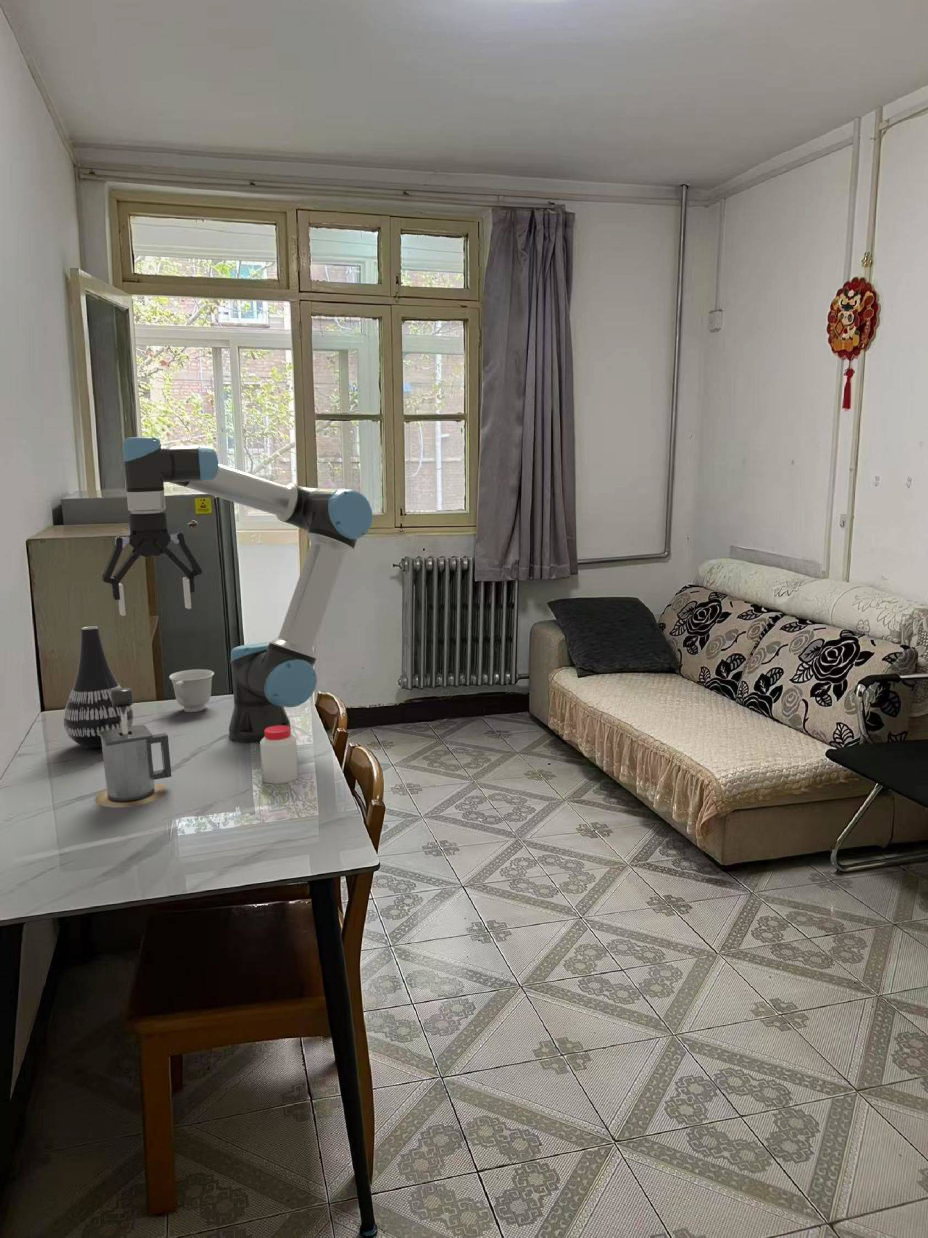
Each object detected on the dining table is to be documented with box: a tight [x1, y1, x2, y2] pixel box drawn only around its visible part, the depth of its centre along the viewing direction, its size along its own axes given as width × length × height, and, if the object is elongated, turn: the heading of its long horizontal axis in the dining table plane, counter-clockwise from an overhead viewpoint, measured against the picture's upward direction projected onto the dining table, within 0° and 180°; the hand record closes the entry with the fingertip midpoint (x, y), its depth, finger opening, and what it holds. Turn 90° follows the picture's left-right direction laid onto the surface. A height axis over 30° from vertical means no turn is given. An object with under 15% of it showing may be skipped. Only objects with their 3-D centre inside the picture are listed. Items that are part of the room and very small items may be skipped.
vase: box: [63, 625, 134, 751], centre depth 224 cm, size 16×16×30 cm
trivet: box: [94, 782, 168, 808], centre depth 191 cm, size 14×14×1 cm
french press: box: [99, 724, 172, 803], centre depth 190 cm, size 13×9×13 cm
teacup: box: [168, 668, 215, 713], centre depth 254 cm, size 12×15×10 cm
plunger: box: [111, 687, 134, 735], centre depth 188 cm, size 7×7×19 cm
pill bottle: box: [259, 725, 299, 785], centre depth 200 cm, size 8×8×11 cm
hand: (156, 611), depth 198 cm, fingers open, 13 cm apart
